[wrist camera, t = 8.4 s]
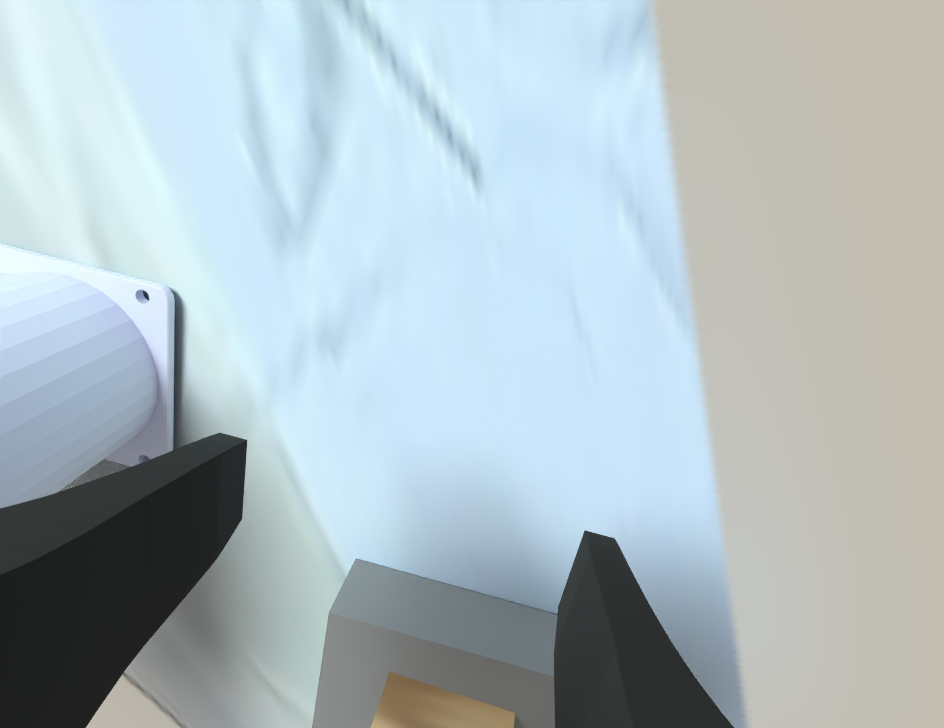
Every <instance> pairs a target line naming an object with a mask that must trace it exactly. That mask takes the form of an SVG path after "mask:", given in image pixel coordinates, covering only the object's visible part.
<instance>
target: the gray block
mask: <svg viewBox="0 0 944 728" xmlns="http://www.w3.org/2000/svg"><path fill="white" fill-rule="evenodd" d="M557 616H558V615H556V614H553V613H549V612H545V611H542V610H538V609H535V608H531V607H527V606H524V605H520V604H517V603H513V602H509V601H506V600H502V599H499V598H495V597H491V596H488V595H484V594H481V593H477V592H473V591H470V590H466V589H463V588H459V587H455V586H452V585H448V584H445V583H441V582H437V581H434V580H430V579H427V578H423V577H419V576H416V575H412V574H409V573H405V572H401V571H398V570H394V569H391V568H387V567H383V566H380V565H376V564H373V563H369V562H366V561H362V560H358V559H355V561H354V563H353V565H352V567H351V569H350V571H349V573H348V575H347V577H346V579H345V581H344V583H343V585H342V587H341V589H340V591H339V593H338V595H337V597H336V599H335V601H334V603H333V605H332V607H331V609H330V611H329V616H328V623H327V630H326V637H325V644H324V650H323V657H322V664H321V671H320V678H319V685H318V691H317V698H316V705H315V712H314V719H313V725H312V728H371V725H372V722H373V719H374V716H375V713H376V710H377V707H378V704H379V702H380V699H381V696H382V693H383V690H384V687H385V684H386V681H387V678H388V675H389V672H393V673H396V674H399V675H402V676H405V677H408V678H411V679H414V680H417V681H420V682H423V683H426V684H429V685H432V686H435V687H438V688H441V689H444V690H447V691H450V692H453V693H456V694H459V695H462V696H465V697H468V698H471V699H474V700H477V701H480V702H483V703H486V704H489V705H492V706H495V707H498V708H501V709H505V710H508V711H511V712H514V713H515V719H514V728H555V700H554V646H555V635H556V625H557Z"/></svg>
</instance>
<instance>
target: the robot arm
mask: <svg viewBox="0 0 944 728" xmlns="http://www.w3.org/2000/svg"><path fill="white" fill-rule="evenodd" d="M143 290H144V291H146V292H147V293H148V295H149V300H147V299H146V298H145V297H144V295H143ZM174 316H175V300H174V295H173V293H172V292H171V290H170V289H169V288H168V287H167V286H164V285H162V284H159V283H155V282H151V281H147V280H143V279H139V278H135V277H131V276H127V275H123V274H119V273H115V272H111V271H107V270H103V269H99V268H95V267H91V266H87V265H83V264H79V263H75V262H71V261H67V260H64V259H60V258H56V257H52V256H48V255H44V254H40V253H36V252H32V251H28V250H24V249H20V248H16V247H12V246H8V245H4V244H0V728H86V726H87V725H88V723H89V722H90V720H91V719H92V717H93V716H94V714H95V713H96V711H97V710H98V708H99V707H100V705H101V704H102V703H103V701H104V700H105V698H106V697H107V695H108V694H109V693H110V691H111V690H112V688H113V687H114V685H115V684H116V682H117V681H118V679H119V678H120V677H121V675H122V674H123V672H124V671H125V669H126V668H127V667H128V666H129V664H130V663H131V662H132V660H133V659H134V658H135V657H136V655H137V654H138V653H139V651H140V650H141V649H142V648H143V646H144V645H145V644H146V643H147V642H148V640H149V639H150V638H151V637H152V636H153V634H154V633H155V632H156V631H157V630H158V629H159V627H160V626H161V625H162V624H163V623H164V621H165V620H166V619H167V618H168V617H169V615H170V614H171V613H172V612H173V611H174V610H175V608H176V607H177V606H178V605H179V604H180V602H181V601H182V600H183V599H184V598H185V597H186V595H187V594H188V593H189V592H190V591H191V589H192V588H193V587H194V586H195V585H196V583H197V582H198V581H199V580H200V579H201V577H202V576H203V575H204V574H205V572H206V571H207V570H208V569H209V568H210V566H211V565H212V564H213V563H214V561H215V560H216V559H217V557H218V556H219V554H220V553H221V551H222V550H223V548H224V547H225V545H226V544H227V542H228V541H229V539H230V537H231V536H232V534H233V533H234V531H235V529H236V528H237V526H238V524H239V523H240V521H241V520H242V511H243V495H244V480H245V465H246V449H247V440H245V439H241V438H237V437H234V436H230V435H226V434H222V433H218V434H215V435H212V436H209V437H206V438H203V439H201V440H198V441H195V442H193V443H190V444H188V445H185V446H183V447H180V448H178V449H175V450H173V425H174ZM145 456H147V457H148V458H149V459H150V460H147V458H146V457H145ZM103 459H105V460H108V461H112V462H116V463H119V464H123V465H126V466H130V468H127V469H125V470H122V471H119V472H116V473H113V474H110V475H108V476H105V477H102V478H99V479H96V480H93V481H91V482H88V483H85V484H82V485H79V486H76V487H73V488H70V489H67V490H64V491H61V492H59V491H60V490H61V489H63V488H64V487H66V486H67V485H68V484H70V483H71V482H73V481H74V480H75V479H77V478H78V477H80V476H81V475H82V474H84V473H85V472H87V471H88V470H89V469H91V468H92V467H94V466H95V465H96V464H98V463H99V462H101V461H102V460H103ZM57 492H58V493H57ZM554 700H555V728H734V727H733V726H732V725H731V724H730V722H729V721H728V720H727V719H726V717H725V716H724V715H723V714H722V712H721V711H720V710H719V709H718V707H717V706H716V705H715V703H714V702H713V701H712V699H711V698H710V697H709V695H708V694H707V693H706V691H705V690H704V689H703V687H702V686H701V685H700V684H699V682H698V681H697V679H696V678H695V677H694V675H693V674H692V672H691V671H690V670H689V668H688V667H687V665H686V664H685V662H684V661H683V659H682V658H681V656H680V655H679V653H678V651H677V650H676V648H675V647H674V645H673V644H672V642H671V641H670V639H669V637H668V636H667V634H666V632H665V631H664V629H663V627H662V626H661V624H660V622H659V621H658V619H657V617H656V615H655V614H654V612H653V610H652V608H651V607H650V605H649V603H648V601H647V599H646V598H645V596H644V594H643V592H642V590H641V588H640V586H639V585H638V583H637V581H636V579H635V577H634V575H633V573H632V571H631V569H630V567H629V565H628V563H627V561H626V559H625V557H624V555H623V553H622V551H621V549H620V547H619V545H618V544H617V542H616V540H615V538H611V537H607V536H603V535H600V534H596V533H592V532H588V531H584V534H583V537H582V540H581V543H580V546H579V549H578V551H577V554H576V557H575V560H574V563H573V566H572V569H571V572H570V575H569V577H568V580H567V583H566V586H565V589H564V592H563V595H562V598H561V601H560V604H559V606H558V616H557V625H556V635H555V646H554Z"/></svg>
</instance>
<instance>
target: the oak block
mask: <svg viewBox="0 0 944 728" xmlns="http://www.w3.org/2000/svg"><path fill="white" fill-rule="evenodd" d="M514 719H515V713H514V712H511V711H508V710H505V709H501V708H498V707H495V706H492V705H489V704H486V703H483V702H480V701H477V700H474V699H471V698H468V697H465V696H462V695H459V694H456V693H453V692H450V691H447V690H444V689H441V688H438V687H435V686H432V685H429V684H426V683H423V682H420V681H417V680H414V679H411V678H408V677H405V676H402V675H399V674H396V673H393V672H389V675H388V678H387V681H386V684H385V687H384V690H383V693H382V696H381V699H380V702H379V704H378V707H377V710H376V713H375V716H374V719H373V722H372V725H371V728H514Z"/></svg>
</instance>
